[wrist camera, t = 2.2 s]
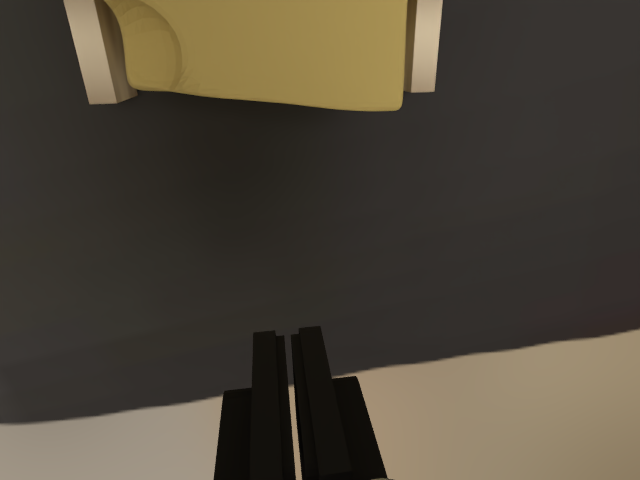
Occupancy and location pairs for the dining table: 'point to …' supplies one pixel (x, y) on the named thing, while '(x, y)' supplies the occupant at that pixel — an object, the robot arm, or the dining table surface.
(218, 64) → the cheese
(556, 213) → the dining table surface
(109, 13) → the track
